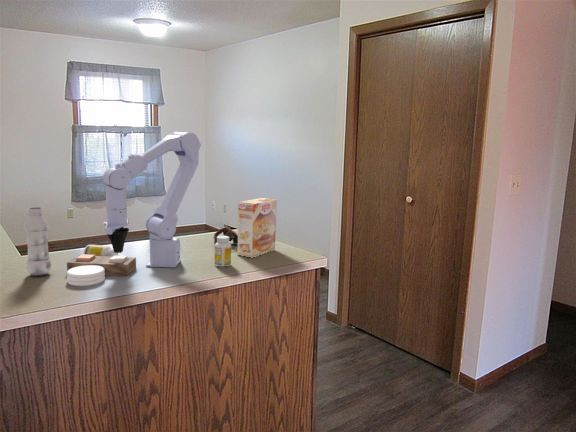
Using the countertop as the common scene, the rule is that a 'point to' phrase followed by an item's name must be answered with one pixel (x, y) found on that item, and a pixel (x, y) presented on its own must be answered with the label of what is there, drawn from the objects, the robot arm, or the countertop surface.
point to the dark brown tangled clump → (227, 234)
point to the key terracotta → (85, 258)
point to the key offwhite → (118, 259)
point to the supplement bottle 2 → (222, 251)
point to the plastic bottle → (37, 242)
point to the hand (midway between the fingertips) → (118, 252)
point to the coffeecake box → (256, 226)
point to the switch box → (107, 265)
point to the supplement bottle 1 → (99, 250)
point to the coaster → (85, 275)
